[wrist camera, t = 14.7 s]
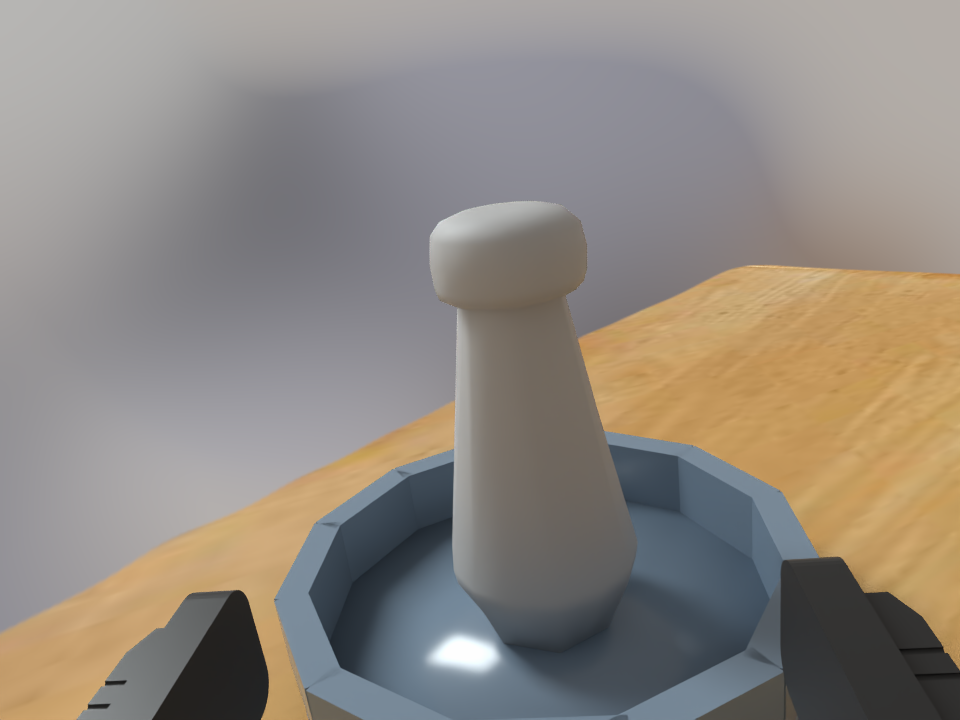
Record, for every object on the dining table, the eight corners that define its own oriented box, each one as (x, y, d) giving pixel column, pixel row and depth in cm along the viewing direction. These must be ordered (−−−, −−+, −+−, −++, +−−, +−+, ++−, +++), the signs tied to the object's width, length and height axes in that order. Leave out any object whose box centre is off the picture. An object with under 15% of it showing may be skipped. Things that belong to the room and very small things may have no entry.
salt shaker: (638, 554, 26) (613, 181, 22) (646, 674, 21) (615, 214, 17) (476, 557, 28) (421, 202, 23) (445, 672, 22) (367, 239, 18)
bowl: (740, 487, 31) (738, 417, 30) (916, 856, 16) (926, 743, 15) (368, 513, 33) (354, 448, 32) (220, 863, 18) (187, 763, 17)
